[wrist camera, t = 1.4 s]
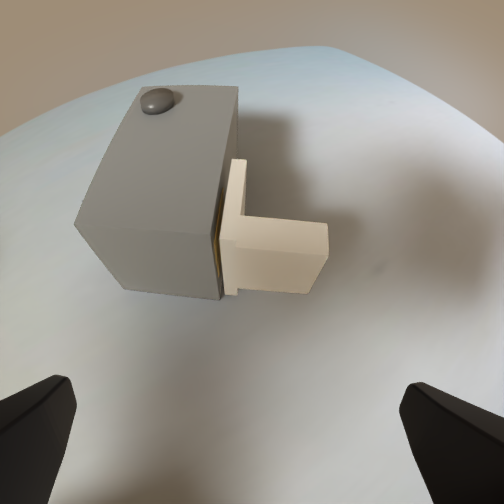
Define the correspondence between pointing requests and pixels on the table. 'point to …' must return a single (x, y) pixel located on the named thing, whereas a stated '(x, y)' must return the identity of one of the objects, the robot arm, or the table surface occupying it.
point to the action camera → (165, 191)
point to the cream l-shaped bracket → (267, 246)
